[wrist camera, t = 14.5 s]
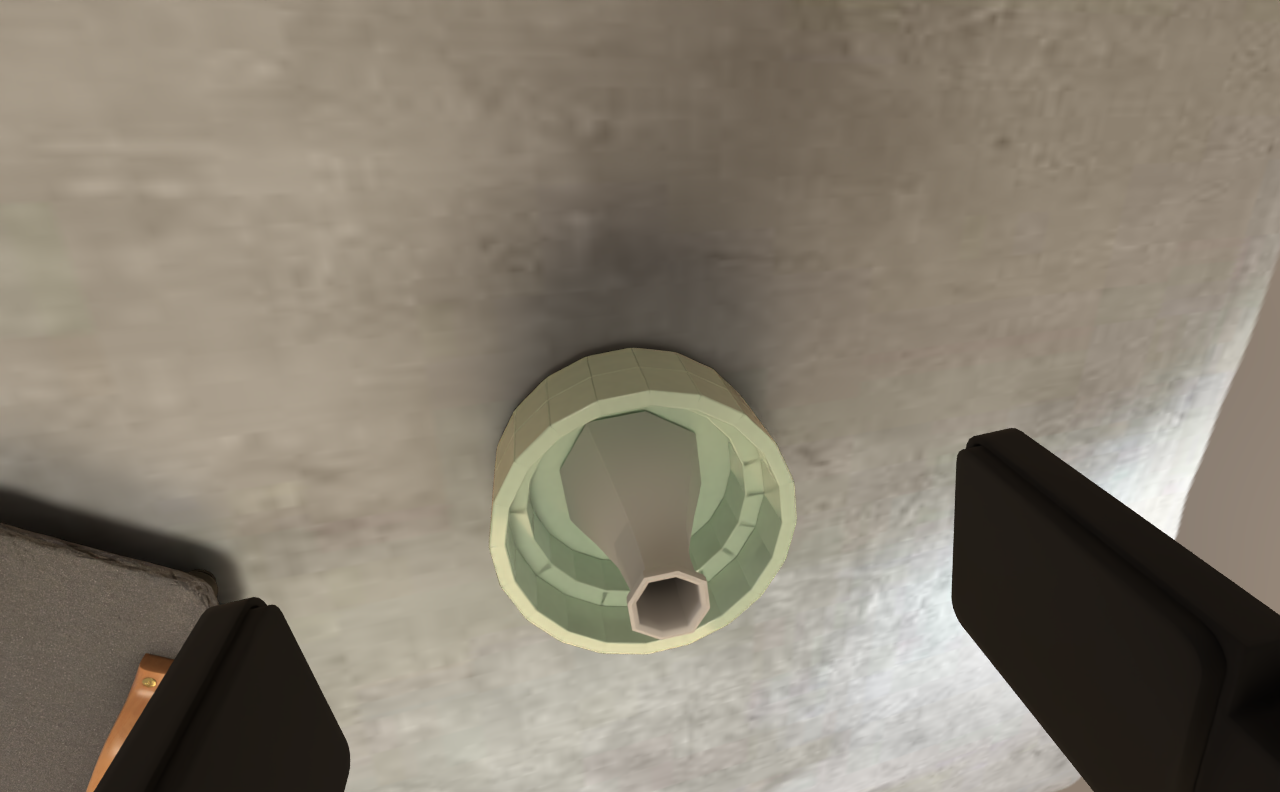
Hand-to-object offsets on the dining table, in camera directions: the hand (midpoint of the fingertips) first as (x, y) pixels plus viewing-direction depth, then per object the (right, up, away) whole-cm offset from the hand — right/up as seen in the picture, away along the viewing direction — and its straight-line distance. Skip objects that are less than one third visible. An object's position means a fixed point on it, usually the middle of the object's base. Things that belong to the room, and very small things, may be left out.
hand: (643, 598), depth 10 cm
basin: (-1, -1, +26) cm, 26 cm away
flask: (-1, -1, +26) cm, 26 cm away
